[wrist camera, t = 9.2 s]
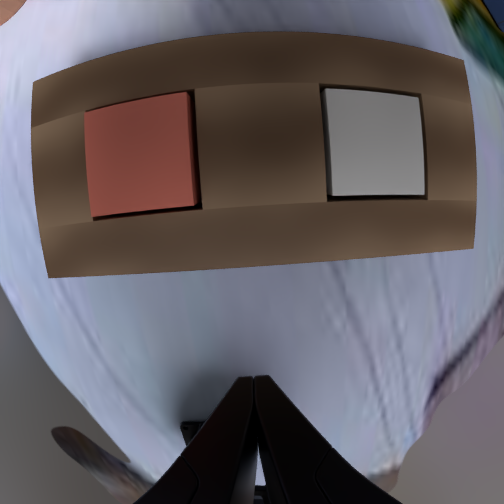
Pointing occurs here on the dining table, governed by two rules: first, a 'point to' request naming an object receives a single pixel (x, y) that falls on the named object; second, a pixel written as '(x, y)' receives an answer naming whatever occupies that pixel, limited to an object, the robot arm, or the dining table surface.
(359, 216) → the brown tray
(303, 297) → the dining table surface
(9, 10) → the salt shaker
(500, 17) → the electronic device
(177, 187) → the salmon pink cube
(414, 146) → the pale grey cube
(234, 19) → the dining table surface
